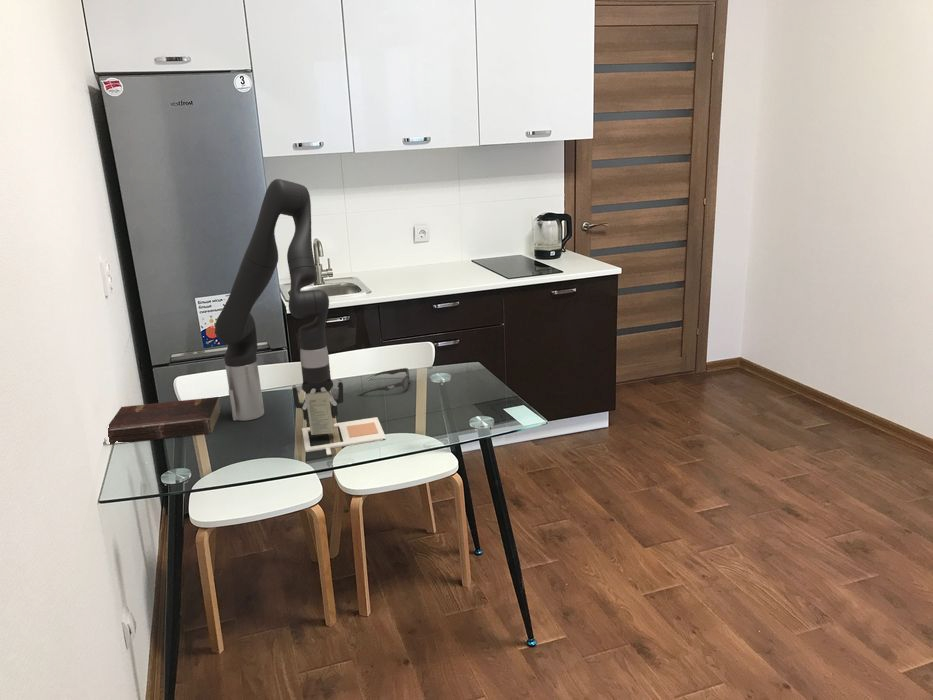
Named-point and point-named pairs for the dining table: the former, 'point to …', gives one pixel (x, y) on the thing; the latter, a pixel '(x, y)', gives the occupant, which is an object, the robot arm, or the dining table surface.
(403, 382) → the sunglasses
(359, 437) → the window card
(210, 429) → the hardback book
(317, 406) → the skincare box
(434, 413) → the dining table surface
